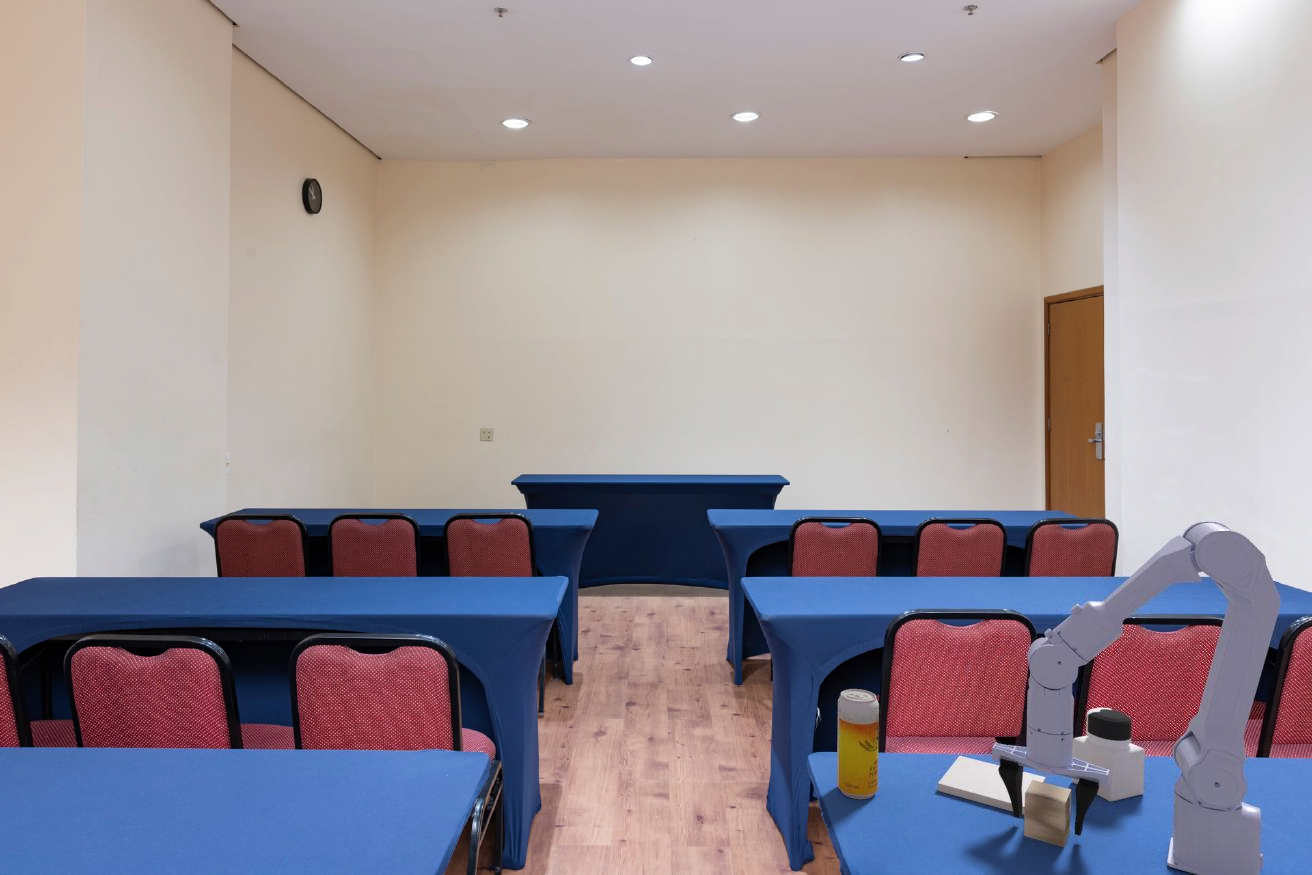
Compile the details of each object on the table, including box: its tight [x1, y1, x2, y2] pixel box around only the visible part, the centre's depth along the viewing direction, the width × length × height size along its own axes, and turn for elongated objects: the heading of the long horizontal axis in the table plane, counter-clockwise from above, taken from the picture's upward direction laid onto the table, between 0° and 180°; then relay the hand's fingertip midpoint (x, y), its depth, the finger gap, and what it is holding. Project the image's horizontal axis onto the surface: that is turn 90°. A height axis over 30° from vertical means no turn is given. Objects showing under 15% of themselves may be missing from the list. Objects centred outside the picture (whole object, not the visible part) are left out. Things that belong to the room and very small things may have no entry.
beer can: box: [836, 688, 880, 800], centre depth 123 cm, size 6×6×15 cm
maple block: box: [1023, 780, 1072, 848], centre depth 111 cm, size 5×5×6 cm
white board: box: [937, 755, 1046, 816], centre depth 124 cm, size 13×12×1 cm
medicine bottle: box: [1071, 707, 1146, 802], centre depth 124 cm, size 7×7×12 cm
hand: (1047, 823), depth 111 cm, fingers open, 7 cm apart
